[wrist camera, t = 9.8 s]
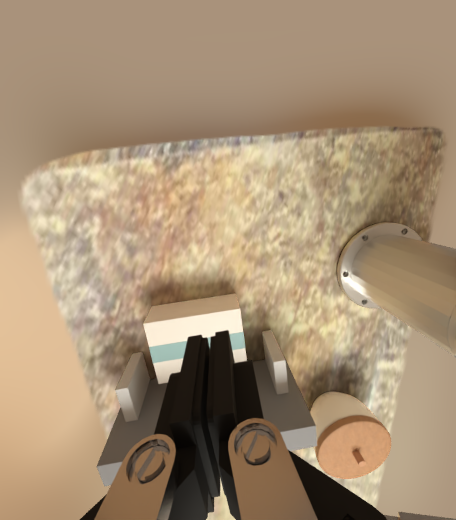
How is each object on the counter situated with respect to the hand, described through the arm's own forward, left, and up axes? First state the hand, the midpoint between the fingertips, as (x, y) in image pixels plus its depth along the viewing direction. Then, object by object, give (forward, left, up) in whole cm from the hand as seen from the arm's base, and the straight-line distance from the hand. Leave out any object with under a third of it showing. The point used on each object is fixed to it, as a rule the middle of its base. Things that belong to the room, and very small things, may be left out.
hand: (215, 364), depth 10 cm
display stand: (+4, +18, -24) cm, 30 cm away
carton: (+4, +12, -24) cm, 27 cm away
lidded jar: (-15, +31, -24) cm, 42 cm away
